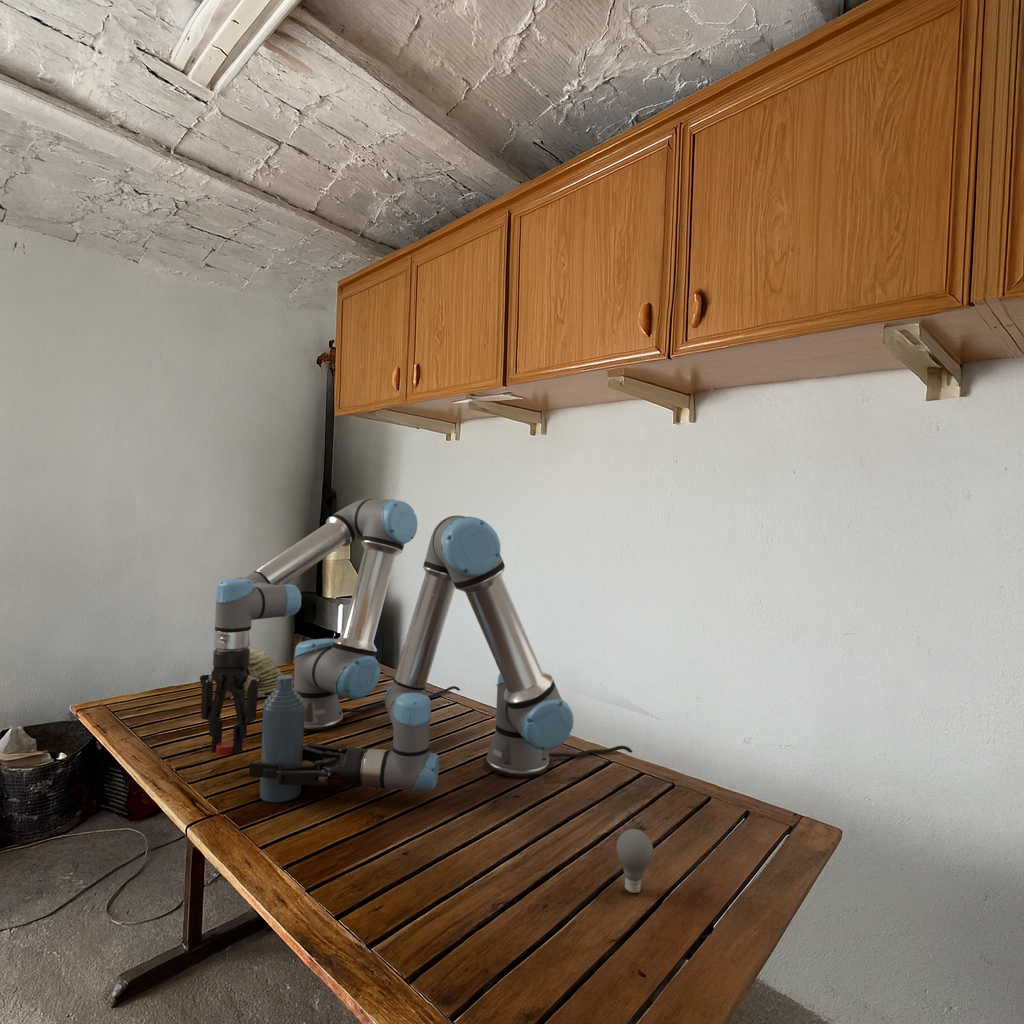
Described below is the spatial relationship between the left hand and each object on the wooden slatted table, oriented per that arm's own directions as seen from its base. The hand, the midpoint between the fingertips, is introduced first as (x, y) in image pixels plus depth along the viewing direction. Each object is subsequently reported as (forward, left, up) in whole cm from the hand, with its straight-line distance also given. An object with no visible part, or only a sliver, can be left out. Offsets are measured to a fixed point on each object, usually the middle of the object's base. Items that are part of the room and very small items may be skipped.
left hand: (226, 751), depth 142 cm
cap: (0, 0, +2) cm, 2 cm away
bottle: (-3, +17, -5) cm, 18 cm away
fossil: (-33, -47, -5) cm, 58 cm away
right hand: (-1, +13, +2) cm, 13 cm away
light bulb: (-24, +89, -5) cm, 92 cm away
